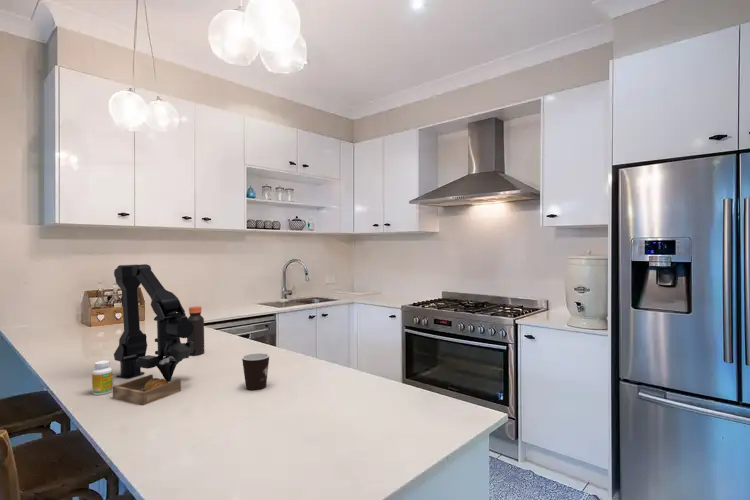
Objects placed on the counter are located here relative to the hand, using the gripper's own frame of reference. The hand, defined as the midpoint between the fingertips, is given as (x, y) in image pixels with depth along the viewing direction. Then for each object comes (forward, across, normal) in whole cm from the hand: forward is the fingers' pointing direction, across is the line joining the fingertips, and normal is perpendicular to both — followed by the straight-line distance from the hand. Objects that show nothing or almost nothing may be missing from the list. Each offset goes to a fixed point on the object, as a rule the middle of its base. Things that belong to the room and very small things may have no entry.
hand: (168, 382), depth 138 cm
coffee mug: (+2, +13, -27) cm, 30 cm away
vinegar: (+2, +34, +25) cm, 42 cm away
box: (+2, -7, 0) cm, 7 cm away
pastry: (+2, -4, 0) cm, 5 cm away
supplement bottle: (+2, -12, +15) cm, 19 cm away
